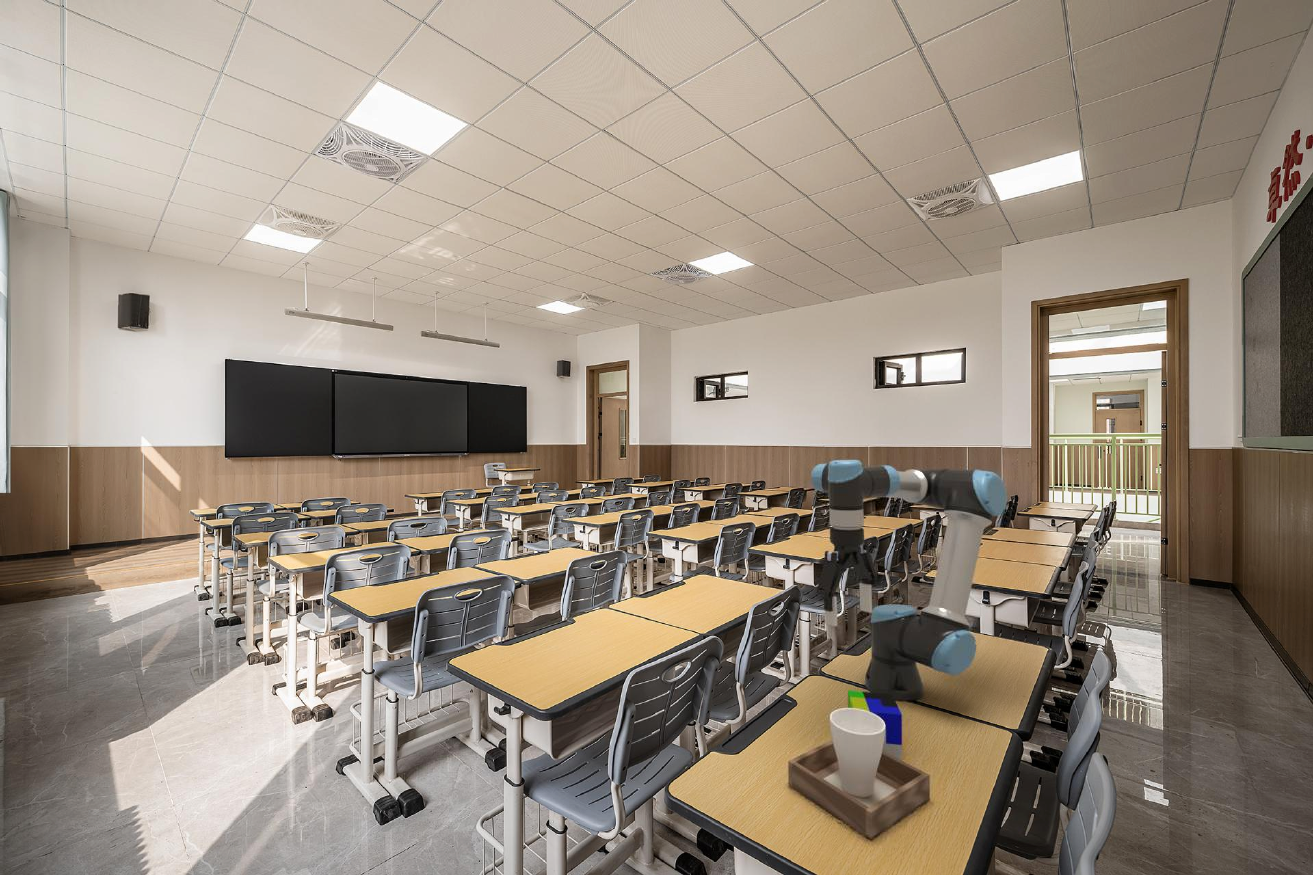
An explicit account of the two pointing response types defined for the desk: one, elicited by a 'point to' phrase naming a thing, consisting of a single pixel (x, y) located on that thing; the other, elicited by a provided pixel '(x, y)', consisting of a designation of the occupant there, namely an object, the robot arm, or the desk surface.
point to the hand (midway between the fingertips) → (849, 617)
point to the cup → (857, 748)
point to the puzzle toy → (882, 717)
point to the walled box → (869, 816)
